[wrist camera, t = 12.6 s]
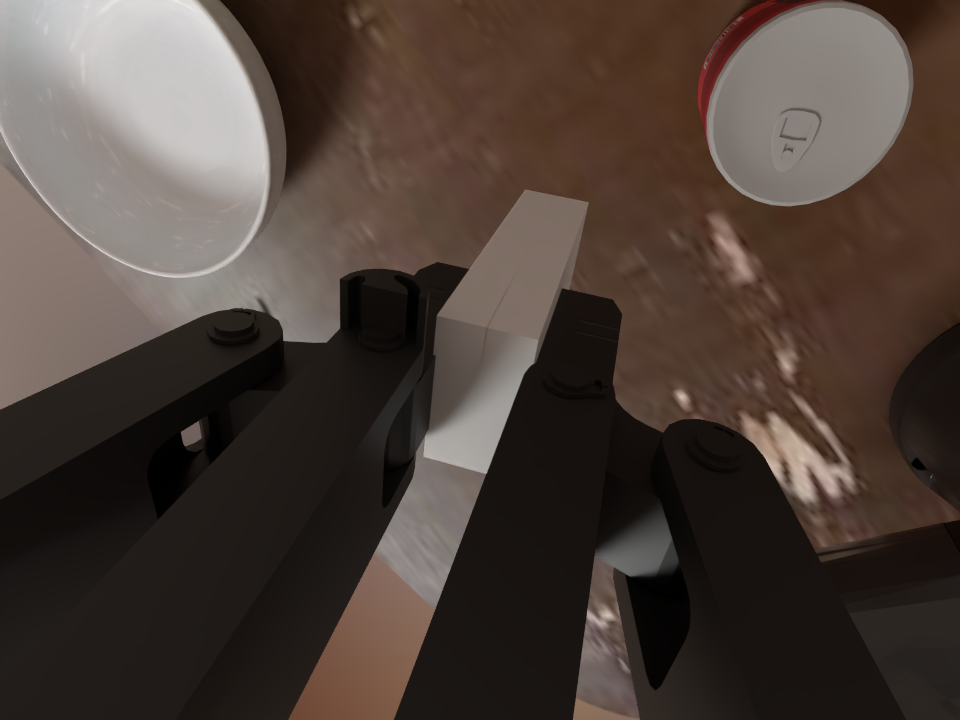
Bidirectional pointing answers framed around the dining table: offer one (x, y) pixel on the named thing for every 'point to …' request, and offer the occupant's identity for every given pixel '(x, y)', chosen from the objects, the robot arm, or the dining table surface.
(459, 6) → the dining table surface
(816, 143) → the canned food
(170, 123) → the serving bowl
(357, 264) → the dining table surface
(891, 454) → the dining table surface
